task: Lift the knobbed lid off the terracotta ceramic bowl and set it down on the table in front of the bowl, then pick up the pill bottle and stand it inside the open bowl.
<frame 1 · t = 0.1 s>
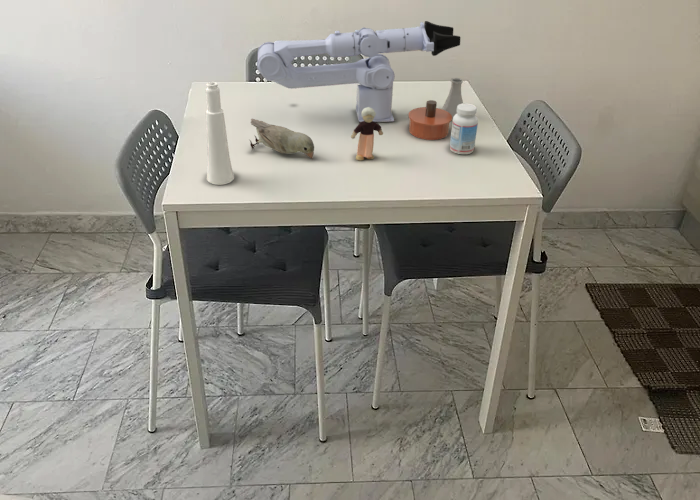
hand: (456, 36, 169), 22 cm above the table, tool horizontal, fingers open, 7 cm apart
cosmetic bottle: (220, 179, 149), on the table
bowl: (428, 131, 173), on the table
grandmother figurine: (366, 158, 160), on the table
lid: (430, 117, 171), point 4 cm above the table, touching bowl
pill bottle: (461, 150, 165), on the table
flask: (452, 116, 182), on the table
decorative bird: (282, 154, 160), on the table
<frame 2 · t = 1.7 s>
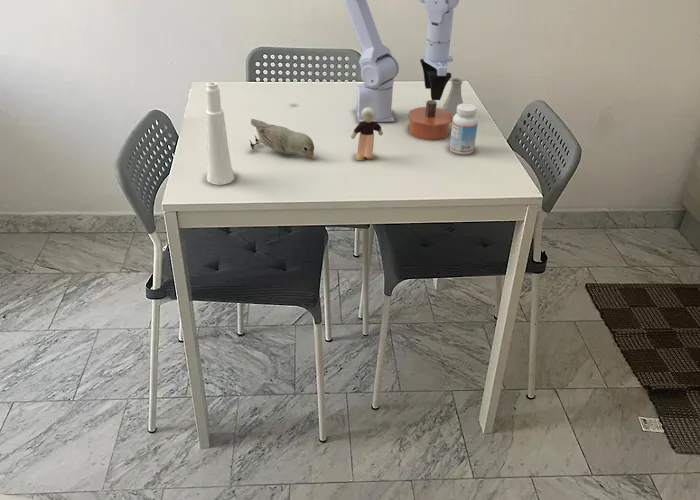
hand: (432, 93, 167), 10 cm above the table, tool pointing down, fingers open, 7 cm apart
nothing on the table moved.
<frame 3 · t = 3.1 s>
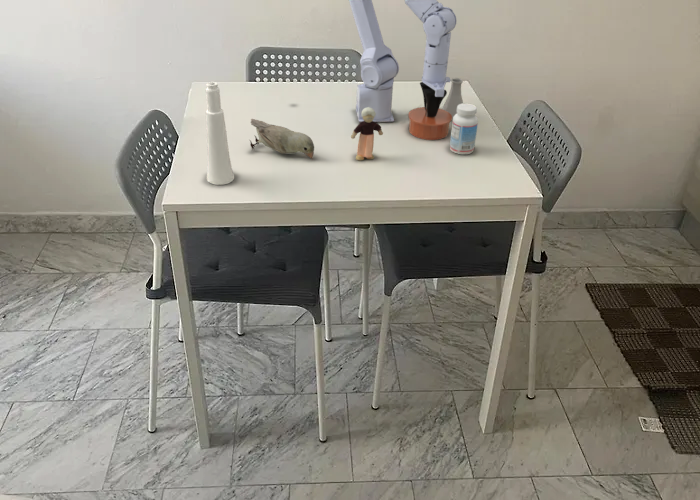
hand: (430, 113, 170), 5 cm above the table, tool pointing down, fingers closed on lid, 2 cm apart
lid: (430, 117, 171), point 4 cm above the table, touching bowl, gripper
everything else where it was.
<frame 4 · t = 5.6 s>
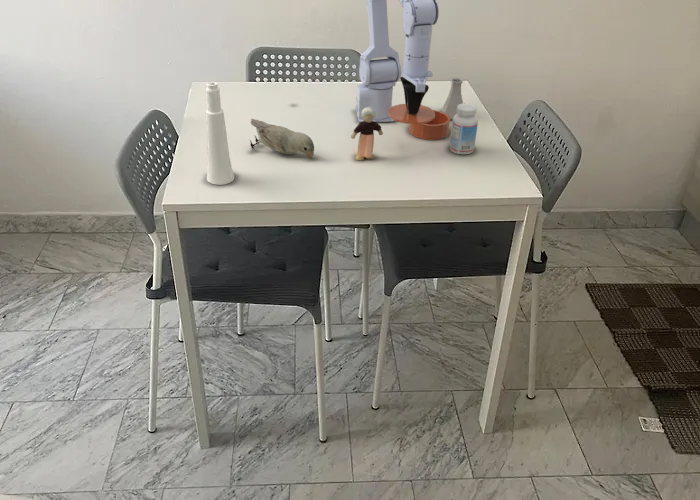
hand: (411, 110, 158), 10 cm above the table, tool pointing down, fingers closed on lid, 2 cm apart
lid: (411, 114, 159), point 9 cm above the table, touching gripper
everything else where it was.
when the fingers open (2 cm above the table, at t = 7.8 s): lid stays where it is, point 1 cm above the table.
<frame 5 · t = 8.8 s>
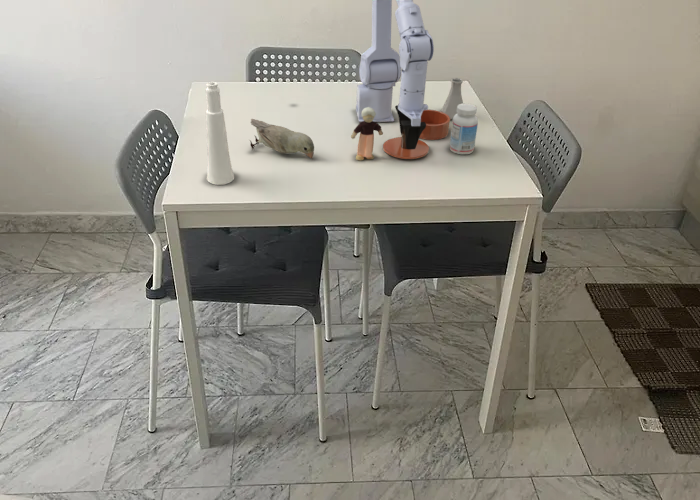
hand: (407, 141, 162), 2 cm above the table, tool pointing down, fingers open, 7 cm apart
lid: (405, 148, 163), point 1 cm above the table
everything else where it was.
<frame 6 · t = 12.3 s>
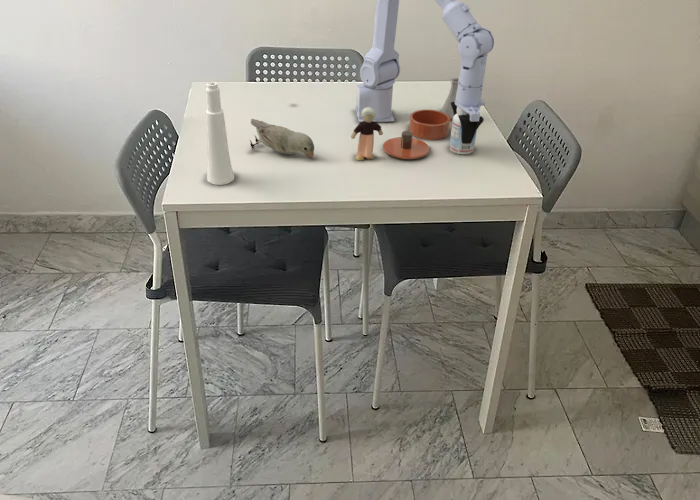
hand: (463, 137, 162), 3 cm above the table, tool pointing down, fingers closed on pill bottle, 6 cm apart
pill bottle: (461, 150, 165), on the table, touching gripper
everything else where it was.
when the fingers open (4 cm above the table, at t = 17.5 s): pill bottle stays where it is, resting on bowl.
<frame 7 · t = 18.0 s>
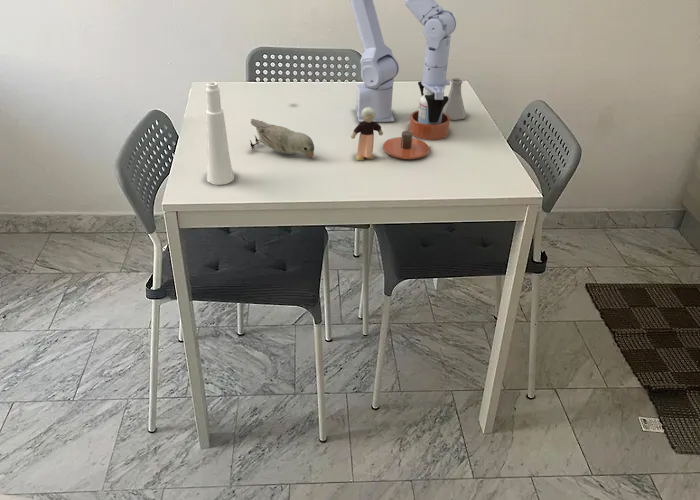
hand: (430, 115, 170), 4 cm above the table, tool pointing down, fingers open, 7 cm apart
pill bottle: (428, 130, 173), resting on bowl
everything else where it was.
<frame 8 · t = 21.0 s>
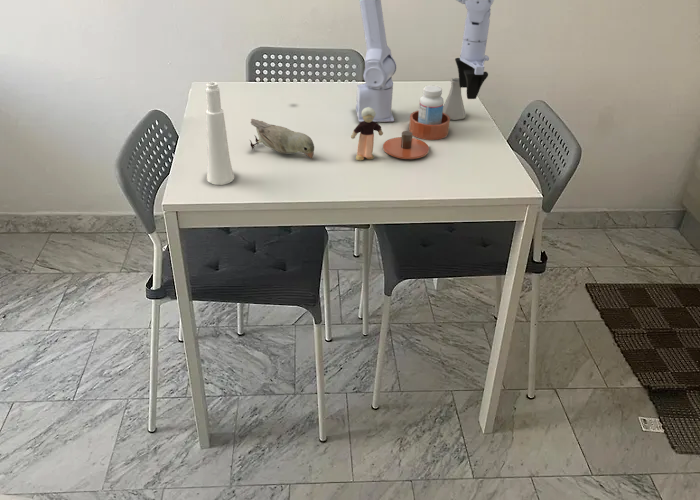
hand: (467, 92, 168), 10 cm above the table, tool pointing down, fingers open, 7 cm apart
nothing on the table moved.
at the end: lid inside the target area (0.0 cm from its centre), point 0.6 cm above the table; pill bottle 0.0 cm off-centre in the bowl, point 0.2 cm above the bowl's base; pill bottle tilted 0° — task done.
